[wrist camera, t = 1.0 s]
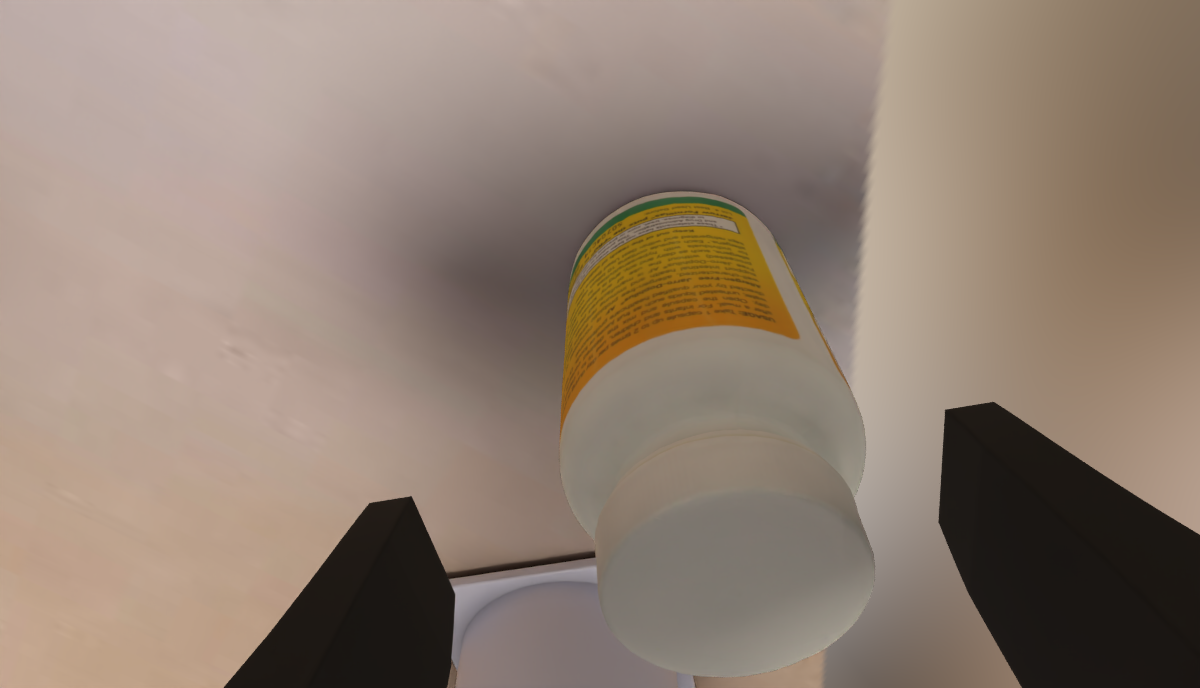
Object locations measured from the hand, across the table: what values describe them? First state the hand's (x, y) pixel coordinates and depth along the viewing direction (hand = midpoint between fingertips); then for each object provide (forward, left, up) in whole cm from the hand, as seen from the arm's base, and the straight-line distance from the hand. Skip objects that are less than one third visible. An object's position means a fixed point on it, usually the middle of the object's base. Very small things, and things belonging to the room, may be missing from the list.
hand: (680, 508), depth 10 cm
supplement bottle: (-2, -1, -9) cm, 10 cm away
